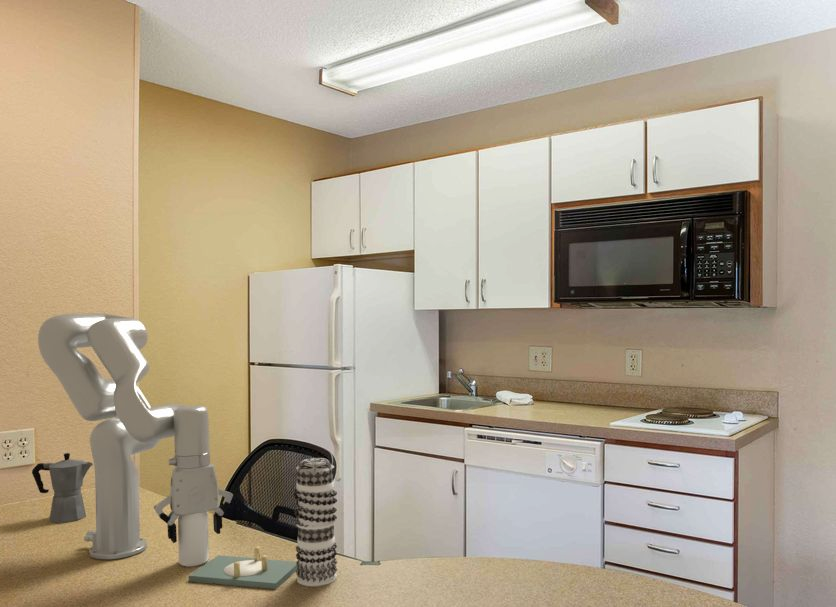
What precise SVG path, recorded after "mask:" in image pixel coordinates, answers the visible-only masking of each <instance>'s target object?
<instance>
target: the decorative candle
mask: <svg viewBox="0 0 836 607" xmlns="http://www.w3.org/2000/svg"><path fill="white" fill-rule="evenodd" d="M334 468H335V465H333V464H331V462H330V461H329V459H327V458H324V457H311V458H309V457H308V458H306V459H303V460H302V461H301V462H300V464H299V465H298V466H297V467H295V470H296V472H297V473H296V475H297V478H296V479H297V480H296V486H295V487H294V488H293V491H294V492H293V493H292V494H293V499H295V500H294V504H293V505H294V507H295V509H294V515H295V516H296V519H295V520H294V521H295V526H296V527H297V531H298V532H297V542H296V543H297V545H296V546H295V551H296V552H297V553H296V554H295V557H296V558H295V559H297V561H296V567H297V570H296V571H295V573H296V581H297V583H298V584H300V585H302V586H306V587H320V586H321V587H322V586H326V585H329V584H332V583H333V582H335V581H336V580H337V578H338V577H337V576H338V575H337V572H338V568H337V564H338V561H337V558H336V556H337V554H338V553H337V550H336V549H337V547H338V546H337V543H336V536H335V526H334V525H335V524H336V523H337V521H336V520H337V519H338V517H337V515H336V514H335V513H336V512H337V508H336V507H334V505H335V504H336V503H337V502H338V499H337V498H335V497H336V496H337V495H338V491H336V490H334V489H335V480H334Z"/></svg>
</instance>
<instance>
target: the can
mask: <svg viewBox="0 0 836 607" xmlns="http://www.w3.org/2000/svg"><path fill="white" fill-rule="evenodd" d="M177 528H178V529H177V532H178V533H177V535H178V537H177V542H178V546H177V547H178V564H179V565H180V564H181V565H182V566H181V565H180V566H181V567H184V566H186V567H185V568H195V567H194V566H196V567H199V565H200V566H203V565H205V564H206V563H208V562H209V561H208V560H209V558H210V557H209V556H210V554H209V514H208V511H206V512H201V513H195V514H190V515H184V516H178V518H177ZM204 563H205V564H204ZM202 564H203V565H202Z"/></svg>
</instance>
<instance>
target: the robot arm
mask: <svg viewBox="0 0 836 607" xmlns="http://www.w3.org/2000/svg"><path fill="white" fill-rule="evenodd" d="M148 334H149V333H148V331H147V328H146V326H145V325H144V324H143V322H141V321H140V320H139V319H137V318H134V317H130V316H128V317H127V316H120V315H115V314H108V313H102V312H101V313H98V312H96V313H91V312H90V313H64V314H63V313H62V314H58V315H54V316H51V317H49V318H47V319H46V320H45V321H43V323H42V324H41V326H40V327H39V330H38V334H37V343H38V344H37V345H38V350H39V352H40V355H41V357H42V359H43V361H44V362H45V364H46V365H47V366H48V368H49V370H51V372H53V374H54V375H55V377H56V378H57V379H58V381H59V383H60V384H61V386H62V387H63V389H64V391H65V393H66V394H67V396H68V398H69V399H70V401H71V403H72V405H73V406H74V407H75V410H76V411H77V413H78V414H79V415H80V417H81V418H82V419H84V420H86V421H88V422H95V421H101V422H99V423H98V424H96V426H94V428H93V429H92V430H91V433H90V436H89V447H90V451H91V455H92V460H93V467H94V478H95V481H94V482H95V483H94V484H95V485H94V486H95V525H96V527H95V530H93V529H89V530H88V531H86V535H84V538H83V541H84V542H92V545H91V547H89V549H88V550H89V556H90V557H92V558H93V559H95V560H116V559H123V558H127V557H128V558H129V557H131V556H134V555H137V554H139V553H142V552H144V550H146V548H147V547H148V542H147V539H145V538H142V537H141V534H140V533H141V531H140V530H141V529H140V527H141V526H140V525H141V524H140V523H141V522H140V521H141V520H140V478H139V471H138V468H137V466H136V464H135V462H134V460H133V458H132V455H135V454H139V453H142V452H143V453H144V452H145V451H148V450H151V449H154V448H155V447H156V446H158V444H159V443H160V442H161V440H163V439H167V438H172V437H173V438H174V455H173V457H172V458H169V459H168V463H167V464H168V466H174V468H173V469H172V471H171V479H170V490H169V495H168V496H167V497H165V498H164V499H163V500H161V501H160V502H158V503H156V504H155V505H154V506H153V510H154V511H155V513H156V514H157V516H158V517H159V518H160V520H162V521H163V522H164V523H166V524H167V538H168V540H169V539H170V541H171V542H172V543H173V544H175V543H177V542H178V537H177V535H178V533H177V524H176V523H175V521H177V520H178V517H179V516H184V515H190V514H195V513H201V512H211V511H213V512H214V513H213V516H212V517H213V519H212V520H213V531H214V532H215V534H217V535H220V534H221V529H223V515H225V514H224V513H225V512H226V511H227V509H228V508H229V507H230V503H231V502H232V499H233V497H234V494H233V493H232V492H229V491H227V490H225V489H221V488H219V485H218V477H217V471H216V468H215V465H214V464H213V463H211V450H210V427H209V426H210V424H209V422H210V420H209V411H208V408H207V407H206V406H204V405H184V404H180V403H168V404H163V405H156V406H151V405H150V403H149V401H148V400H147V398H146V396H145V395H144V393H143V392H142V390H141V389H140V387H139V386H138V385H137V384H138V383H139V382H140V381H141V380H143V378H145V376H147V374H148V373H149V371H150V362H149V361H148V360H147V359H146V357H145V356H144V354H143V352H142V351H141V350H142V349H143V348H144V347H145V346H146V344H147V341H148V337H149V335H148ZM79 348H81V349H82V348H91V349H93V352H94V353H95V354H96V356H97V357H98V359H99V360H100V362H101V363H102V365H103V366H104V367H105V369H106V371H107V372H108V374H109V375H110V377H111V379H106V378H105V377H103V375H102V374H101V373H100V371H99V370H98V368H97V367H96V365H95V363H94V362H93V361H92V360H91V359H90V358H88V357H87V356H86V355H85V354H84V353H81V352H80V351H79V350H78V349H79ZM102 420H103V421H102ZM220 496H221V497H224V499H223V501H222V502H221V504H220ZM167 506H169V507H170V510H171V511H170V512H169V513H168V514H166V513H165V512H164V511H163V510H164V508H165V507H167Z"/></svg>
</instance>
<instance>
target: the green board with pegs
mask: <svg viewBox="0 0 836 607" xmlns="http://www.w3.org/2000/svg"><path fill="white" fill-rule="evenodd" d="M296 562H297V561H293V560H280V559H268V555H266V554H265V555H261V547H260V546H255V547H254V557H244V556H232V555H216V556H215V557H214V558H212V559H210V560H209V561H207V562H206V563H205V564H203V565H201V566H200V567H199V568H198V569H196V570H194V571H193V572H192V573H190V574H189V575H188V582H191V581H194V582H193V583H202V582H204V583H203V584H213V583H215V584H214V585H224V586H225V585H226V586H237V587H245V588H246V587H248V588H257V587H260V589H268V588H269V590H277V589H278V588H279V587H280V586H281V585H283V583H284V582H286V581H287V580H288V579H289V578H290V577H291V576H292V575H293V574H294V573H296V570H297V567H296ZM270 588H271V589H270Z"/></svg>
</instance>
